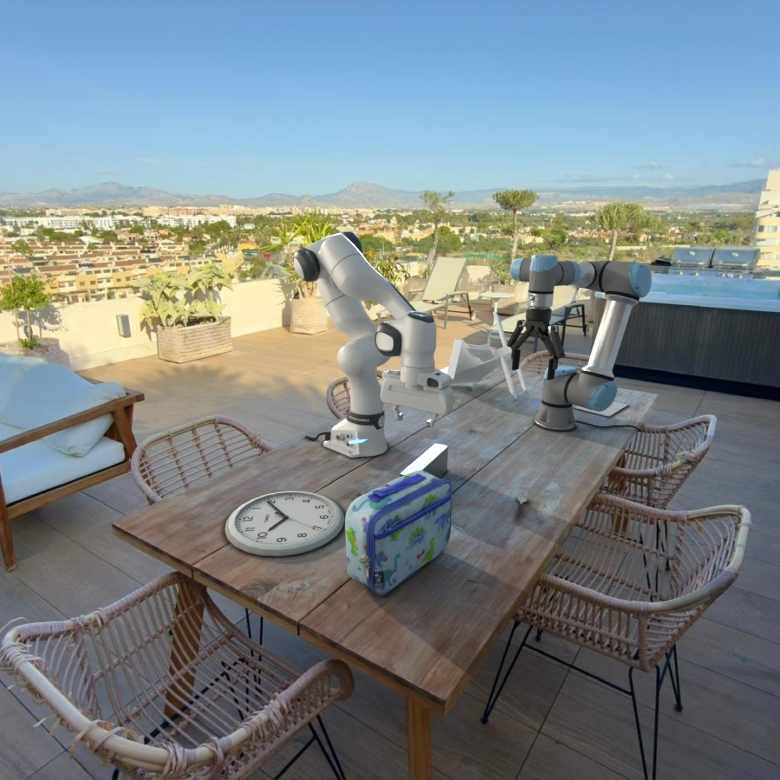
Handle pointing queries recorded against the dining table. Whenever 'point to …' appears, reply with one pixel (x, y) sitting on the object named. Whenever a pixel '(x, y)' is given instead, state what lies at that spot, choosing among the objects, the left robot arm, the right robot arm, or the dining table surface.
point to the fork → (521, 499)
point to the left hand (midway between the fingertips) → (414, 423)
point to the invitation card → (609, 411)
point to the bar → (430, 461)
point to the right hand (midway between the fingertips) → (532, 374)
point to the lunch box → (397, 529)
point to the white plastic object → (481, 362)
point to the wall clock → (284, 523)
